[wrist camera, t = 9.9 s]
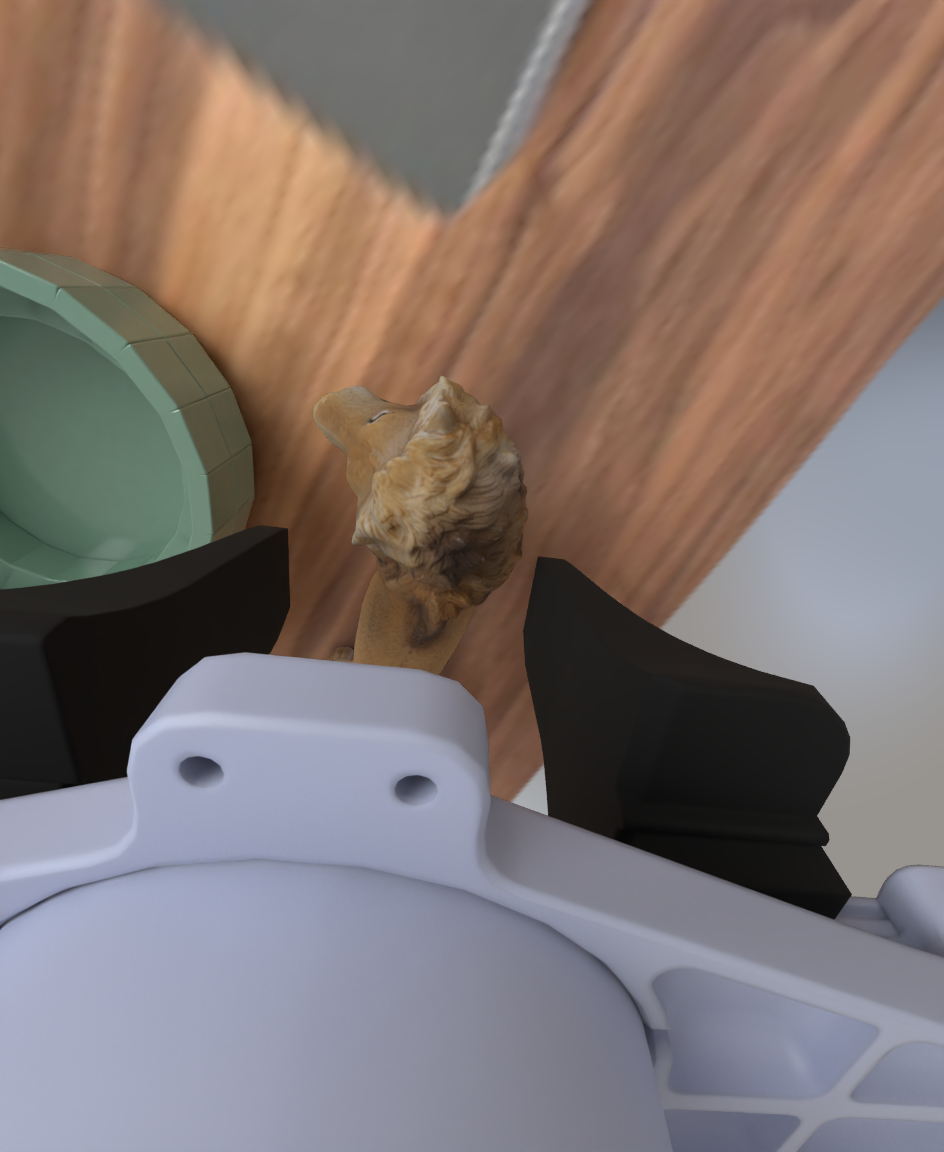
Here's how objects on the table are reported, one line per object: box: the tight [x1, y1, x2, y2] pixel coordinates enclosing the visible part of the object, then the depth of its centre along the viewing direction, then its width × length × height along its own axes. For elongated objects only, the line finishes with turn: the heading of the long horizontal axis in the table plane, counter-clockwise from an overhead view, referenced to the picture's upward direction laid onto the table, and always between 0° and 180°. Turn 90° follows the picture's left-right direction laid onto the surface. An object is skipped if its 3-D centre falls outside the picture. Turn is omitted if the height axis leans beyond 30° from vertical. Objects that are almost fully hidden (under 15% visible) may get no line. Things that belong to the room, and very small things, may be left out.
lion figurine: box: [313, 376, 528, 675], centre depth 17 cm, size 15×5×9 cm, turn 167°
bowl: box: [0, 247, 255, 589], centre depth 17 cm, size 11×11×4 cm
